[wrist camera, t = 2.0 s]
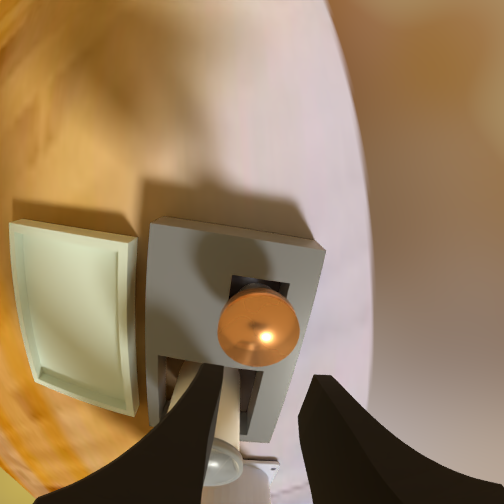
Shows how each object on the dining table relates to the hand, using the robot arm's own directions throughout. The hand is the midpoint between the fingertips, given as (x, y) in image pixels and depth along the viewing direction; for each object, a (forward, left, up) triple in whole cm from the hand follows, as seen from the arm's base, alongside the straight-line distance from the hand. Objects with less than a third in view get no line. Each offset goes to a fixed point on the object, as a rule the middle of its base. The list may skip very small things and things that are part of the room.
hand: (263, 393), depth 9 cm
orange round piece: (0, 0, -7) cm, 7 cm away
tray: (-5, +12, -9) cm, 16 cm away
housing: (-4, +2, -9) cm, 10 cm away
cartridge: (-8, +2, -9) cm, 12 cm away
